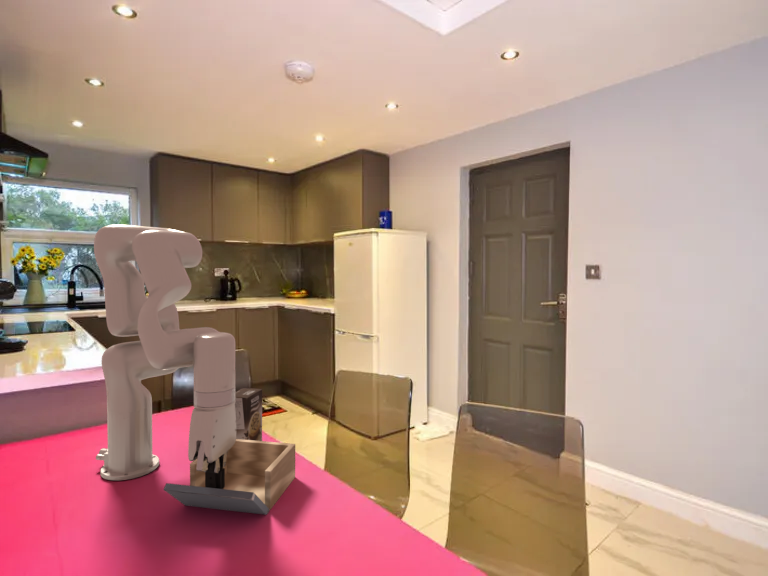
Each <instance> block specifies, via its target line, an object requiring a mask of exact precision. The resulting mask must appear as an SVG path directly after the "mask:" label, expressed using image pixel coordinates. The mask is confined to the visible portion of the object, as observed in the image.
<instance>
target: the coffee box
mask: <svg viewBox="0 0 768 576" xmlns="http://www.w3.org/2000/svg"><path fill="white" fill-rule="evenodd" d="M235 412H236V439H243V440H255V441H263V389H262V388H250V387H249V388H245V387H243V388H240V389H238V390H235Z"/></svg>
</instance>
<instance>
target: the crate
mask: <svg viewBox="0 0 768 576" xmlns="http://www.w3.org/2000/svg"><path fill="white" fill-rule="evenodd" d="M197 459H198V458H197ZM197 459H196V460H194V461H190V463H189V486H198V487H205V472H204V471H197V470H196V467H197ZM224 468H225V487H224V488H223V489H226V490H236V491H245V492H254V493H255V494H256V495H257V497H258V498H259V499H260V500H261V501H262V502H263V503H264V504H265V505H266V506H267V507H268V508H269V510H270V511H271V510H272V508H273V507H274V506H275V504H276V503H277V502H278V501H279V499H280V498H281V496H283V494H284V493H285V491H286V490H288V489H287V488H289V486H290V485H291V484H292V482H293V481H294V480H295V479H296V443H288V442H287V443H286V442H277V441H276V442H274V441H267V440H265V441H263V440H262V441H255V440H243V439H236V442H235V444H234V445H233V446H232V447H231V449H230V450H229V452H228V453H227V458H226V466H225V467H224Z"/></svg>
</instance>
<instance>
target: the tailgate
mask: <svg viewBox="0 0 768 576" xmlns="http://www.w3.org/2000/svg"><path fill="white" fill-rule="evenodd" d="M163 491H164V492H166V493H167V494H169V495H170V496H172V497H173V498H174V499H176V500H177V501H178V502H180V503H181V504H182V505H183V506H186V507H193V508H194V507H196V508H205V509H211V510H219V511H220V510H221V511H228V512H230V511H231V512H238V513H249V514H257V515H266V516H267V515H268V514H269V512H270V511H271V510H269V508H268V507H267V506H266V505H265V504H264V503H263V502H262V501H261V500H260V499H259V498H258V497H257V495H256V494H255V493H254V492H245V491H236V490H226V489H217V488H207V487H198V486H190V484H189V485H188V484H177V483H166V484H165V486H164V488H163Z"/></svg>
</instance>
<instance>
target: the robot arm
mask: <svg viewBox="0 0 768 576" xmlns="http://www.w3.org/2000/svg"><path fill="white" fill-rule="evenodd" d="M93 252H94V258H95V261H96V265H97V266H98V269H99V271H100V274H101V277H102V280H103V286H104V287H103V288H104V302H105V303H104V305H105V306H104V307H105V319H106V326H107V329H108V331H109V334H111V335H112V336H115V337H120V338H121V337H123V338H125V337H135V336H138V337H139V340H135V341H126V342H121V343H117V344H113V345H111V346H110V347H108V348H106V349H105V351H104V352H103V353H102V356H101V368H102V372H103V373H102V374H103V377H104V383H105V389H106V390H105V391H106V410H107V411H106V414H107V415H106V416H107V417H106V418H107V420H106V421H107V424H106V425H107V426H106V427H107V431H106V432H107V448H104V447H103V448H101V449H100V450H99V451H98V453H97V454H96V456H95V460H97V461H103V466H102V467H101V468H100V470H99V471H100V476H101V478H103V479H104V480H108V481H127V480H131V479H136V478H140V477H142V476H145V475H148V474H150V473H151V472H153V471H155V470H157V468H158V467H159V466H160V457H158V455H156V454H153V400H152V394H151V392H150V390H149V389H147V387H146V386H144V385H143V384H142V380H146V379H149V378H154V377H162V376H165V375H170V374H172V373H175V372H176V371H178V370H179V369H181V368H186V367H187V368H188V367H193V409H192V412H191V415H190V423H189V433H188V446H187V447H188V449H187V450H188V451H187V452H188V455H187V456H188V460H189V461H190V462H193V461H194V460H196V459H197V458H198V459H197V467H196V470H197V471H204V472H205V487H207V488H217V489H223V488H224V487H225V468H224V467H225V466H226V458H227V453H228V452H229V450H230V449H231V447H232V446H233V445H234V444H235V442H236V412H235V392H236V339H235V336H234V335H233V334H232V333H230V332H224V331H219V330H217V329H216V328H213V327H209V326H203V327H193V328H190V327H189V328H183V329H181V328H180V321H179V319H180V318H179V317H180V316H179V312H178V309H177V306H176V303H178V302H180V301H181V300H182V299H184V298H186V297H187V295H188V294H190V291H191V289H192V282H191V280H190V279H191V278H190V276H189V275H188V273H187V270H186V269H188V268H189V269H191V268H195V267H197V266H199V264H200V263H201V261H202V259H203V247H202V244H201V243H200V241H199V239H198V238H197V237H196V235H194V234H193V233H191V232H187V231H186V232H185V231H182V230H178V229H172V228H167V227H156V226H142V225H134V224H109V225H105V226H103V227H100V228H99V229H98V230H97V232H95V235H94V240H93ZM130 261H131V262H130ZM132 261H133V262H136V264H137V266H138V268H136V266H135V265H133V263H132ZM138 269H139V270H138ZM145 288H146V290H147V293H148V296H146V291H145Z"/></svg>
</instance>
